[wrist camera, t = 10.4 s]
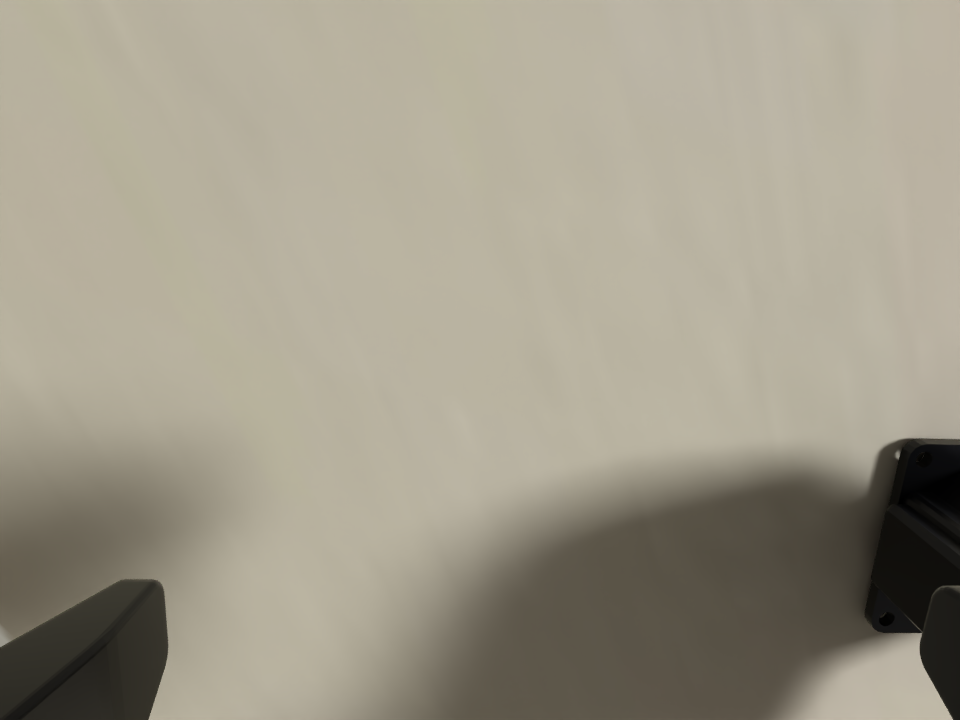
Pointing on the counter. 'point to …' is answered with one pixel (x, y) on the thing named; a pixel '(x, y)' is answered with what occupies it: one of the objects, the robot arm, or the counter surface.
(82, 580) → the counter surface
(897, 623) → the robot arm
